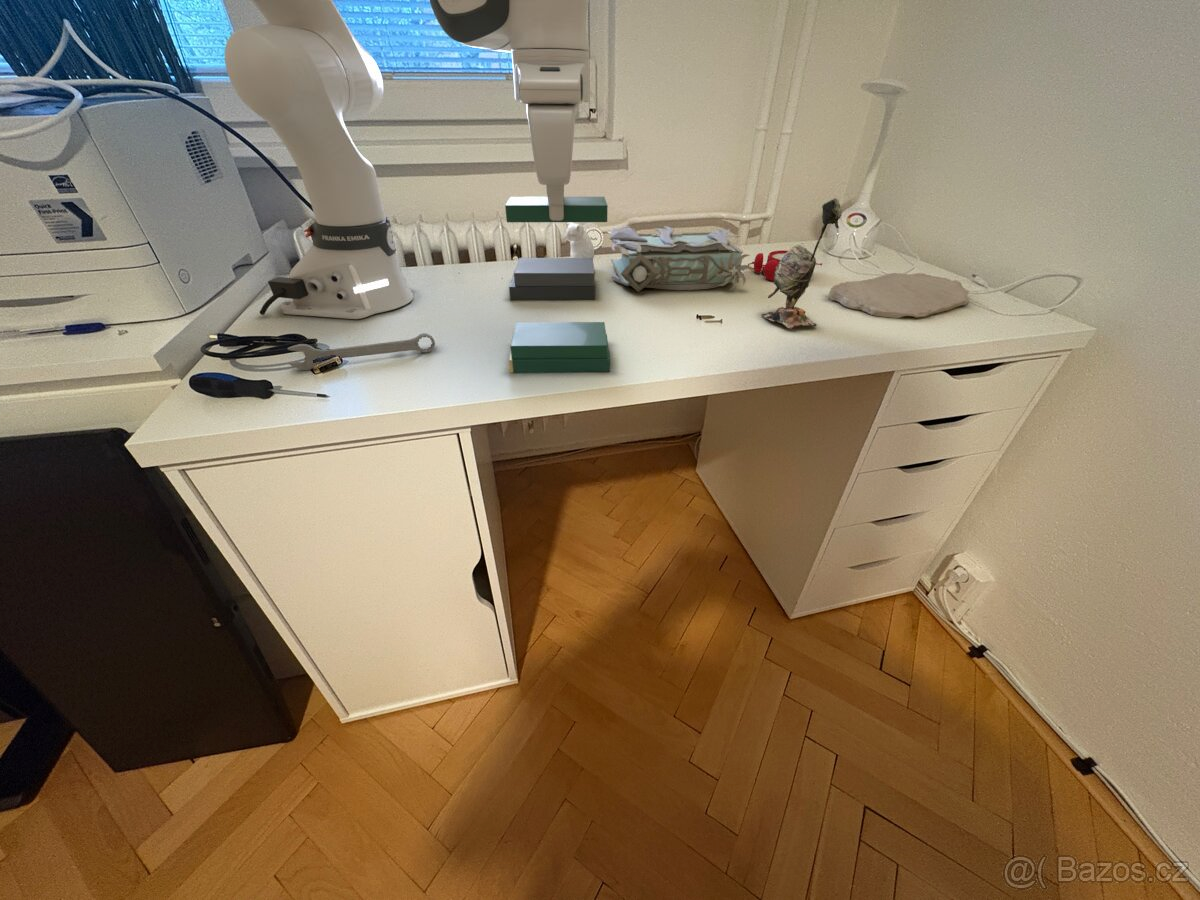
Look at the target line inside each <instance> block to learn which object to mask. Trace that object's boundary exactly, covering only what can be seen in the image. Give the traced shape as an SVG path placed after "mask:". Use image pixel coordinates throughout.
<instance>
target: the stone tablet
mask: <svg viewBox="0 0 1200 900" xmlns="http://www.w3.org/2000/svg"><path fill="white" fill-rule="evenodd" d="M968 294H969V290H968V289H966V288H965V287H964V286H962V282H961V281H959V280H956V279H954V280H953V279H950V278H947V277H941V276H935V275H930V274H926V273H921V272H920V273H919V272H918V273H902V272H901V273H900V272H892V273H888V274H885V275H881V276H877V277H874V278H868V279H863V280H856V281H855V280H853V281H845V282H839V283H837V284H835V285H833V286H832V287H831V288H830V290H829V293H828V297H829V299H830V300H831V301H836V302H838V303H840V304H841V305H843V306H844V307H845V308H848V309H851V310H859V311H860V310H861V311H863V312H865V313H867V314H869V315H871V316H874V317H875V316H876V317H884V318H890V319H900V318H904V317H913V318H915V319H916V318H925V317H929V316H931V315H933V314H939V313H943V312H946V311H950V310H952V309H954V308H957V307H961V306H966V305H967V304H968V303H969V302H970V297H968Z"/></svg>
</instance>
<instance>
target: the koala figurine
mask: <svg viewBox="0 0 1200 900" xmlns="http://www.w3.org/2000/svg"><path fill="white" fill-rule="evenodd" d="M566 225H567V228H566V231H565V233H566V234H565V235H564V239H565V241H567V242H569V246H570V252H569V255H570V258H593V259H594V258H595V246H594V244H593V242H592V239H591V236H590V235H589V233H588V232H587V231H586V230H585V228H584V226H583V225H582V222H566Z"/></svg>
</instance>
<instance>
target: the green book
mask: <svg viewBox="0 0 1200 900" xmlns="http://www.w3.org/2000/svg"><path fill="white" fill-rule="evenodd" d="M504 207H505V216H506V217H505V218H506V219H505V220H506V223H567V222H581V223H608V202H607V199H606V197H605V196H564V202H563V207H564V218H563V220H561V221H552V220H551V219H550V217H549V203H548V197H547V196H509V198H508V199H507V202H505V205H504Z"/></svg>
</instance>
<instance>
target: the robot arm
mask: <svg viewBox="0 0 1200 900" xmlns="http://www.w3.org/2000/svg"><path fill="white" fill-rule="evenodd" d="M250 1H251V2H252V4H253V5H254V6H255V7H256V8H257V10H258V11H259V12H260V13H261V15H262V16H263V18H264V19H265V20H266V22H267V23H263V24H258V25H253V26H248V27H244V28H241V29H238V30H236V31H234V32H232V34H230V36H229V37H228V39H227V41H226V44H225V47H224V64H225V69H226V72H227V75H228V78H229V81H230V83H231V85H232V87H233V89H234V91H235V92H236V95H238V97H239V98H240V100H241V101H242V102H243V103H244V105H246V106H247V107H248V108H249V109H250V110H251V111H252V112H254V113H255V114H256V115H258V116H259V117H260V118H261V119H263V120H264V121H265V122H266V123H267V125H269V126H270V127H271V128H272V130H273V131H274V132H275V134H276V135H277V136H278V137H279V139H280V140H281V142H282V144H283V146H285V148H286V150H287V151H288V153H289V154H290V156H291V158H292V161H293V162H294V163H295V166H296V168H297V170H298V171H299V175H300V176H301V179H302V182H303V185H304V187H305V190H306V193H307V196H308V199H309V202H310V205H311V209H312V211H313V215H314V218H315V220H314V222H313V223H312V224H311V225H309V226H308V227H307V228H306V229H304V230H303V233H306V234H305V236H304V237H305V239H307V238H310V239H311V240H312V246H311V247H310V249H308V251H307V252H306V253H305V254H304V255H303V256H302V257H301V258H300V259H299V261H297V262H296V264H295V265H294V266H293V267H292V268H291V270H290V271H289V274H288V277H286V276H285V277H284V276H277V277H274V278H272V279H270V280H268V281H267V283H268V286H269V288H270V290H271V293H272V296H270V297H269V298H268V299H267V300H265V302H264V304H263V305H262V307H261V308H260V310H259V314H260V315H261V316H262V315H263V316H264V315H265V314H266V313H267V310H268V309H269V307H270V306H271V305H272V304H273V303H275V301H277V299H279V298H281V299H282V298H283V299H284V300H283V301H282V303H281V305H280V307H281V311H282V313H283V314H285V315H296V316H307V317H320V318H321V317H322V318H335V319H347V320H361V319H365V318H367V317H370V316H373V315H376V314H381V313H384V312H385V313H386V312H388V311H393V310H396V309H399V308H402V307H403V306H406V305H408V304H409V303H410V302H412V300H413V299H414V294H413V291H412V290H411V288H410V285H409V284H408V281H407V280H406V278H405V275H404V273H403V270H402V268H401V264H400V262H399V259H398V255H397V253H396V251H397V245H396V239H395V234H394V230H393V228H392V225H391V222H390V221H391V220H390V218H389V217H388V216H387V215H386V211H385V207H384V202H383V197H382V194H381V193H382V192H381V190H380V189H381V188H380V184H379V180H378V176H377V172H376V169H375V167H374V166H373V164H372V162H371V161H370V160H368V159H367V158H366V157H364V156H363V155H362V153H361V152H360V151H359V149H358V147H357V146H356V144H355V142H354V141H353V138H352V137H351V135H350V133H349V131H348V129H347V126H346V124H345V122H352V121H357V120H360V119H362V118H364V117H366V116H368V115H370V114H371V113H373V112H374V111H376V110H377V108H379V107H380V105H381V103H382V100H383V96H384V82H383V81H384V80H383V77H382V73H381V71H380V68H379V66H378V64H377V62H376V61H375V58H373V56H372V55H371V54H370V52H368V50H366V49H365V47H364V46H362V44H360V42H359V40H358V39H357V38H356V37H355V35H354V34H353V32H352V31H351V30H350V28H349V26H348V25H347V23H346V21H345V20H344V18H343V16H342V15H341V13H340V11H339V9H338V8H337V6H336V4H335V3H334V1H333V0H250ZM589 2H590V0H429V4H430V7H431V10H432V12H433V15H434V17H435V19H436V21H437V23H438V25H439V26H440V28H441V29H442V31H443V32H444V33H445V34H446V35H447V36H448V37H449V38H450V39H452V40H453V41H455V42H457V43H460V44H462V45H464V46H467V47H471V48H477V49H484V50H487V51H494V52H502V53H509V54H510V55H511V63H512V74H513V75H512V76H513V77H512V78H513V88H514V100H515V102H518V103H519V102H520V103H521V104H522V105H525V106H526V118H527V122H528V129H529V136H530V142H531V151H532V156H533V162H534V168H535V174H536V178H537V181H538V183H539V184H540V185H542V186H546V187H545V188H546V197H548V203H549V217H550V219H551V220H552V221H561V220H563V218H564V207H563V202H564V197H565V185H568V184H569V183H570V181H571V175H572V165H573V154H574V141H575V140H574V138H575V124H576V120H579V119H580V105H581V104H582V103H589V102H590V99H591V98H590V97H591V96H590V92H591V90H590V81H591V80H590V79H591V78H590V44H589V40H588V34H587V27H586V26H587V24H586V23H587V14H588V7H589V4H590V3H589Z"/></svg>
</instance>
